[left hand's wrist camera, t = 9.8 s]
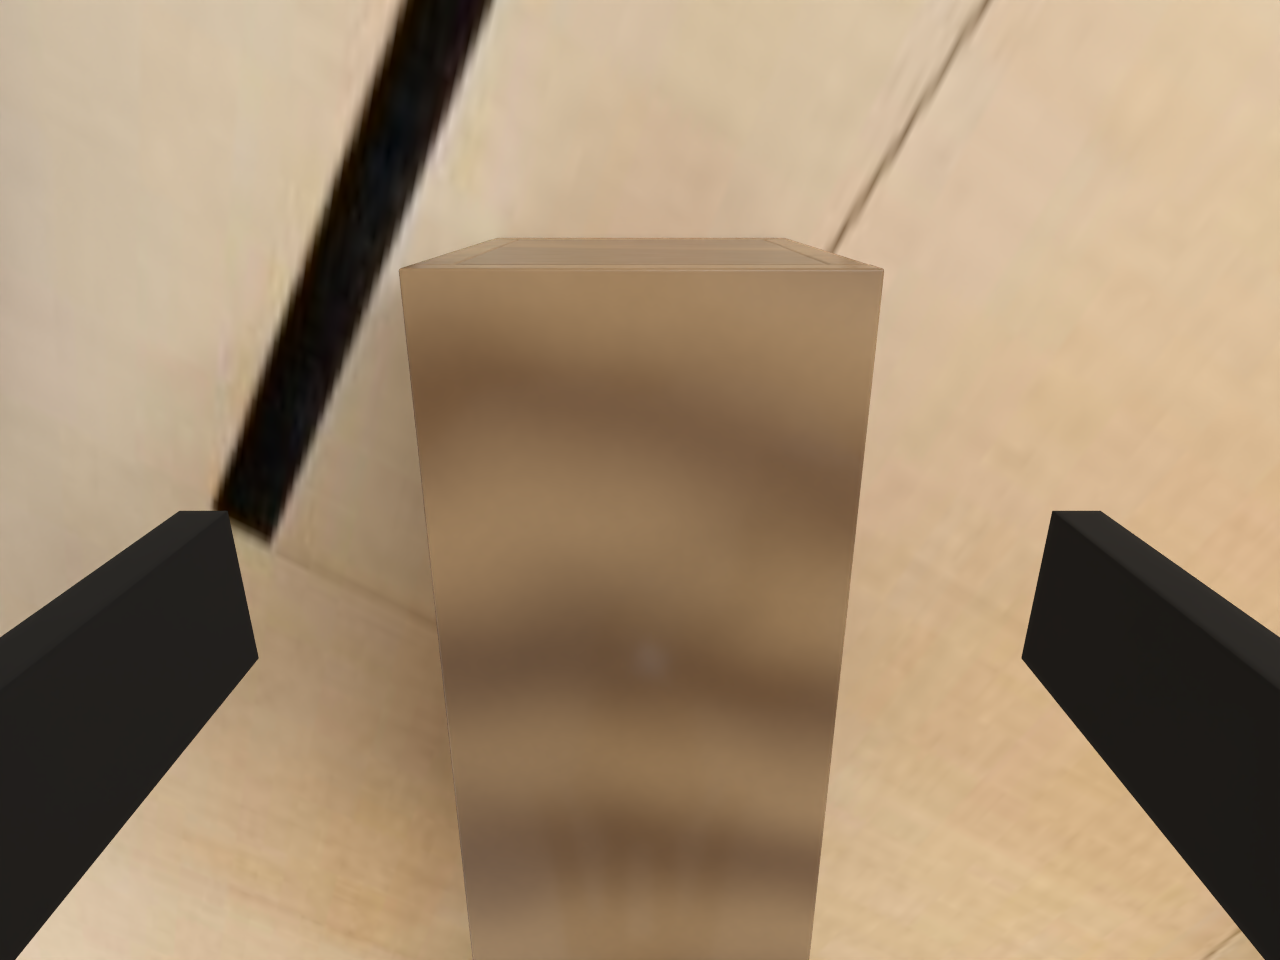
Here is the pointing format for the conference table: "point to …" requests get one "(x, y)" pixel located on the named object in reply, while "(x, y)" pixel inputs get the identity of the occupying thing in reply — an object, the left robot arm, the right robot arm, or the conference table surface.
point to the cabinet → (641, 579)
